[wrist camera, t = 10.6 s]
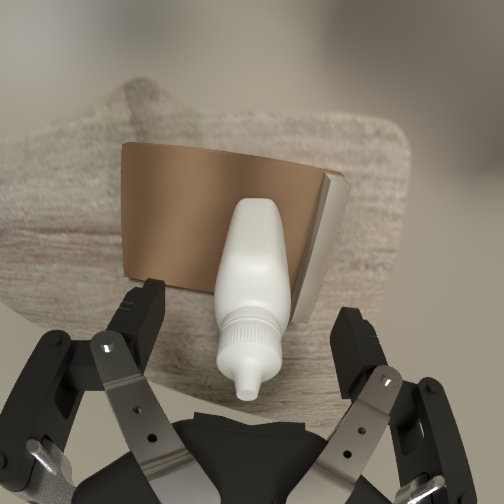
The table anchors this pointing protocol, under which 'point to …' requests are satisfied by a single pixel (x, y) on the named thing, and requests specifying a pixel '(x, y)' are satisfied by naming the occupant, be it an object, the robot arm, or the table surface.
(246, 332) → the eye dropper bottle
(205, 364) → the table surface
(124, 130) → the table surface
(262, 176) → the walnut shelf board
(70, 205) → the table surface
